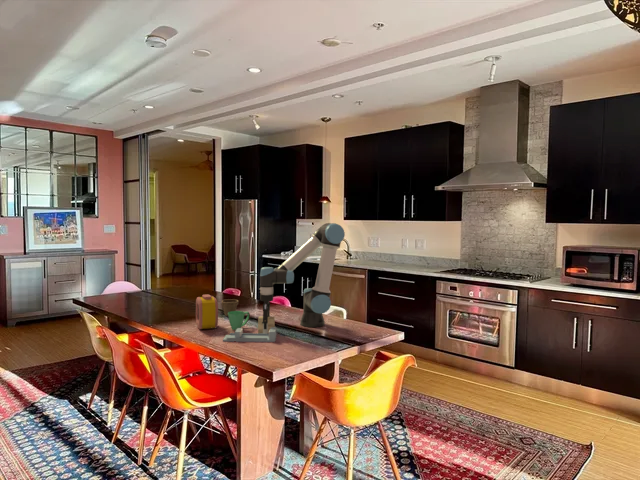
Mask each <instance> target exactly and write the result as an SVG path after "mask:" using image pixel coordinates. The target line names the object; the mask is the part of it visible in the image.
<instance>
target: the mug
mask: <svg viewBox="0 0 640 480" xmlns="http://www.w3.org/2000/svg"><path fill="white" fill-rule="evenodd" d="M246 315H247V316H246ZM250 315H251V313H250V312H249V311H242V310H236V311H231V312H228V316H227V317H228V323H229V325H230V328H231V330H232V331H236V330H237V328H243V327H244V326H245V325H246V324H247V323H248V322H249V321H250V317H251V316H250ZM245 316H246V318H245ZM244 318H245V320H244Z"/></svg>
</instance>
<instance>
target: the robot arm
mask: <svg viewBox="0 0 640 480" xmlns="http://www.w3.org/2000/svg"><path fill="white" fill-rule="evenodd" d="M345 233H346V232H345V230H344V228H343V227H342V226H341V225H340V224H338V223H335V222H333V223H331V222H328V223H324V224H322V225H321V226H319V228H318V229H316V230H315V231H314V233H312V234H311V238H309V239H308V240H306V242H305V243H304V244H303V245H301V246H300V247H299V248H298V249H297V250H296V251H294V253H293V254H291V255H290V256H289V257H288V258H287V259H286V260H285V261H284V262H282V263H281V264H280V265H279V266H278V267H275V268H274V267H272V266H271V267H270V266H264V267H261V268H260V273H259V279H260V280H259V281H260V282H259V283H260V284H259V286H260V288H258V290H260V291H259V293H260V295H259V300H260V301H261V302H263V304H262V316H263V322H262V323H263V333H268V317H271V315H270V314H271V313H270V312H271V310H270V309H271V308H270V307H271V303H270V302H273V301H274V285H275V284H293V283H294V281H295V273H294V270H296V268H297V267H299V266H300V265H301V264H302V263H303V262H304V261H305V260H306V259H308V257H310V256H311V255H312V254H313V253H315V251H317V249H319V248H320V247H322V248H321V255H320V257H319V258H320V259H319V265H318V269H317V274H316V279H315V284H314V286H313V287H312V288H311V287H310V288H309V287H308V288H307V287H306V288H304V290H303V313H302V316H301V318H300V326H303V327H306V328H319V327H320V328H321V327H324V326H325V318H324V315H323V314H325V313H327V312H328V311H329V310H330V309H331V305H332V301H331V294H332V292H331V290H330V286H331V280H332V275H333V270H334V265H335V260H336V255H337V250H339V249H340V247H341V243H342V242H343V241H344V239H345V236H346V235H345Z"/></svg>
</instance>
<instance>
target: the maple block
mask: <svg viewBox="0 0 640 480" xmlns="http://www.w3.org/2000/svg"><path fill="white" fill-rule="evenodd" d="M262 322H263V315H262V316H258V319H257V323H258V324H257V333H263V323H262ZM275 324H276V323H275V316H270V317H268V333H269V330H270V329H271V327H275Z"/></svg>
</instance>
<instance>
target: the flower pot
mask: <svg viewBox="0 0 640 480" xmlns="http://www.w3.org/2000/svg"><path fill="white" fill-rule="evenodd" d="M220 304H221V305H222V308H223V309H222V310H223V313H224V316H225V317H228V312H231V311H237V306H238V305H239V300H238V299H235V298H233V299H231V298H230V299H229V298H228V299H222V300H221V303H220Z"/></svg>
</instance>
